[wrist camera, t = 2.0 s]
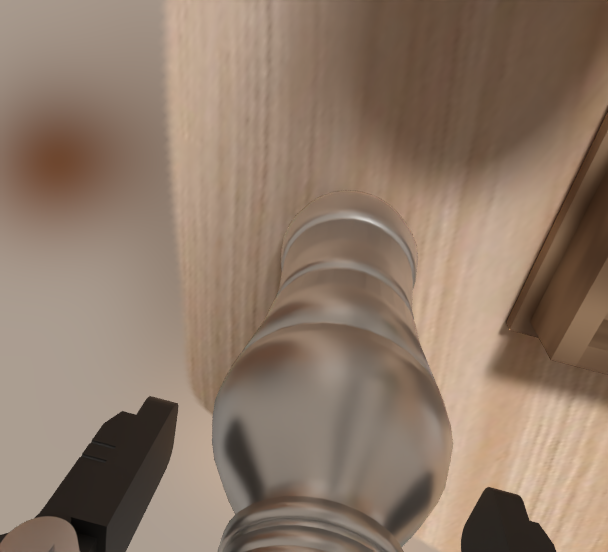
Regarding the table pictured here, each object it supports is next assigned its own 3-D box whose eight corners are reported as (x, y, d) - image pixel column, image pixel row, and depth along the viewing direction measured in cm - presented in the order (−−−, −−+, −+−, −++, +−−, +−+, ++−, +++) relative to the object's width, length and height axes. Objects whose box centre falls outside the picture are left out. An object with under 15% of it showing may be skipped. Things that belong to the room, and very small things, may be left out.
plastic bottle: (326, 155, 25) (196, 460, 7) (440, 221, 25) (587, 654, 8) (270, 255, 28) (72, 655, 10) (373, 312, 28) (366, 784, 10)
